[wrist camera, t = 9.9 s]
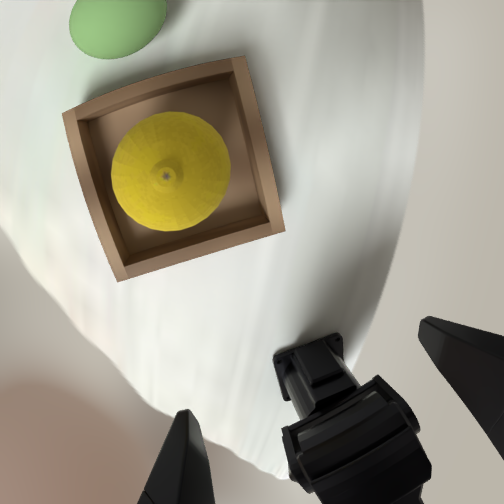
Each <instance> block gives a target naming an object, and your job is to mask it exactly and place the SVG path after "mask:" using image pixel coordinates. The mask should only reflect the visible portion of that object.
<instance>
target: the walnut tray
mask: <svg viewBox="0 0 504 504" xmlns="http://www.w3.org/2000/svg"><path fill="white" fill-rule="evenodd" d="M169 111H171V112H185V113H188V114H191V115H194V116H197V117H200V118H201V119H203V120H204V121H206V122H207V123H209V124H210V125H212V127H213V128H214V129H215V130H216V131H217V132H218V133H219V134H220V136H221V137H222V139H223V141H224V143H225V145H226V147H227V149H228V153H229V158H230V163H231V170H230V181H229V184H228V187H227V191H226V194H225V196H224V197H223V199H222V201H221V202H220V204H219V206H218V207H217V208H216V209H215V210H214V211H213V212H212V213H211V214H210V215H209V216H208V217H207V218H206V219H204V220H202V221H201V222H199V223H198V224H196V225H194V226H192V227H189V228H185V229H182V230H177V231H160V230H155V229H150V228H148V227H146V226H144V225H141V224H139V223H138V222H136V221H135V220H134V219H133V218H131V217H130V216H129V215H128V214H127V213H126V212H125V211H124V209H123V208H122V207H121V205H120V204H119V203H118V200H117V198H116V195H115V193H114V190H113V186H112V178H111V170H112V162H113V157H114V154H115V152H116V149H117V147H118V145H119V143H120V142H121V140H122V139H123V137H124V136H125V135H126V133H127V132H128V131H129V130H130V129H131V128H132V127H134V126H135V125H136V124H137V123H138V122H140V121H141V120H143V119H146V118H148V117H150V116H152V115H154V114H159V113H164V112H169ZM62 116H63V121H64V126H65V130H66V134H67V138H68V142H69V146H70V150H71V154H72V158H73V161H74V165H75V169H76V172H77V175H78V179H79V182H80V185H81V188H82V192H83V195H84V198H85V201H86V204H87V207H88V210H89V212H90V215H91V218H92V221H93V224H94V226H95V229H96V232H97V234H98V237H99V239H100V242H101V245H102V247H103V250H104V252H105V254H106V257H107V259H108V262H109V264H110V266H111V269H112V271H113V273H114V276H115V278H116V280H117V282H120V281H124V280H127V279H130V278H133V277H136V276H140V275H143V274H146V273H149V272H152V271H156V270H159V269H162V268H165V267H168V266H172V265H175V264H178V263H181V262H185V261H188V260H191V259H194V258H198V257H201V256H204V255H208V254H211V253H214V252H217V251H221V250H224V249H227V248H231V247H234V246H237V245H240V244H244V243H247V242H250V241H254V240H257V239H260V238H264V237H267V236H270V235H274V234H277V233H281V232H284V231H285V226H284V221H283V216H282V211H281V206H280V201H279V197H278V192H277V187H276V183H275V178H274V174H273V169H272V165H271V160H270V156H269V151H268V147H267V142H266V138H265V134H264V130H263V125H262V121H261V117H260V113H259V109H258V105H257V101H256V97H255V93H254V89H253V85H252V81H251V77H250V73H249V69H248V65H247V62H246V58H245V56H240V57H234V58H228V59H223V60H218V61H213V62H208V63H204V64H199V65H195V66H191V67H187V68H183V69H179V70H175V71H171V72H168V73H164V74H161V75H158V76H154V77H151V78H148V79H145V80H142V81H139V82H136V83H133V84H130V85H127V86H125V87H122V88H119V89H117V90H114V91H111V92H109V93H106V94H104V95H101V96H99V97H97V98H94V99H92V100H90V101H87V102H85V103H83V104H81V105H78V106H76V107H74V108H72V109H70V110H68V111H66V112H64V113H62Z"/></svg>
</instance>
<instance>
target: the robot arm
mask: <svg viewBox="0 0 504 504" xmlns="http://www.w3.org/2000/svg"><path fill="white" fill-rule="evenodd" d="M336 338H337V339H336ZM418 338H419V341H420V342H421V344H422V346H423V347H424V348H425V350H426V352H427V353H428V355H429V356H430V358H431V360H432V361H433V363H434V364H435V366H436V367H437V369H438V370H439V371H440V373H441V374H442V375H443V376H444V378H445V379H446V380H447V382H448V383H449V384H450V385H451V387H452V388H453V389H454V391H455V392H456V393H457V394H458V396H459V397H460V398H461V400H462V401H463V402H464V404H465V405H466V407H467V408H468V409H469V410H470V412H471V413H472V415H473V416H474V417H475V419H476V420H477V422H478V423H479V424H480V426H481V427H482V429H483V430H484V431H485V433H486V434H487V436H488V437H489V439H490V440H491V442H492V443H493V445H494V446H495V448H496V449H497V451H498V452H499V454H500V455H501V457H502V459H503V460H504V336H502V335H498V334H494V333H491V332H487V331H483V330H479V329H476V328H472V327H468V326H465V325H461V324H458V323H454V322H450V321H446V320H443V319H439V318H435V317H432V316H427V317H425V318H424V319H422V320H421V321H420V325H419V332H418ZM278 360H279V361H278ZM273 364H274V368H275V372H276V375H277V379H278V382H279V386H280V390H281V393H282V397H283V399H284V401H290V400H292V403H293V405H294V407H295V409H296V412H297V414H298V416H299V418H300V421H298V422H296V423H294V424H292V425H290V426H288V425H287V426H285V427H283V428H281V429H282V433H283V436H282V441H283V444H284V448H285V452H286V456H287V460H288V468H289V477H290V479H291V480H292V481H294V482H297V483H299V484H300V485H301V486H302V487H303V489H304V490H305V491H306V492H307V493H309V494H310V493H313V492H315V493H316V495H317V496H318V498H319V499H320V501H321V503H322V504H424V503H423V501H422V499H421V492H422V488H423V484H424V483H425V482H427V481H428V480H430V479H431V471H432V465H431V463H430V461H429V459H428V458H427V455H426V453H425V451H424V449H423V447H422V445H421V443H420V441H419V439H418V437H417V435H416V434H417V433H419V432H420V426H419V423H418V420H417V418H416V416H415V415H414V413H413V411H412V409H411V408H410V407H409V405H408V404H407V402H406V401H405V400H404V399H403V398H402V397H401V396H400V395H399V394H398V393H397V392H396V391H395V390H394V389H393V388H392V387H391V386H390V385H389V384H388V383H387V382H385V381H384V380H383V379H382V378H381V377H380V376H379V375H376V376H375V377H373V378H372V380H370V381H369V382H367V383H366V384H364V385H362V386H360V384H359V383H358V381H357V380H356V379H355V377H354V376H353V374H352V373H351V372H350V370H349V369H348V367H347V366H346V365H345V363H344V359H343V338H342V336H341V334H340V333H334V334H332V335H329V336H327V337H324V338H322V339H319V340H317V341H314V342H312V343H309V344H306V345H304V346H301V347H298V348H295V349H293V350H290V351H287V352H284V353H281V354H278V355H276V356H274V357H273ZM144 490H145V491H143V492H142V494H141V496H140V498H139V501H138V503H137V504H215V499H214V492H213V486H212V479H211V472H210V466H209V460H208V456H207V452H206V449H205V445H204V441H203V437H202V433H201V429H200V425H199V423H198V421H197V419H196V418H195V416H194V415H193V413H192V412H191V411H190V410H189V409H185V410H180V411H178V412H177V414H176V416H175V418H174V421H173V423H172V425H171V428H170V430H169V432H168V434H167V437H166V439H165V441H164V444H163V446H162V448H161V450H160V453H159V455H158V457H157V460H156V462H155V464H154V467H153V469H152V471H151V474H150V476H149V478H148V481H147V483H146V485H145V487H144Z"/></svg>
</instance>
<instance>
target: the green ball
mask: <svg viewBox="0 0 504 504" xmlns="http://www.w3.org/2000/svg"><path fill="white" fill-rule="evenodd" d="M166 10H167V3H166V0H77V1H76V3H75V5H74V7H73V9H72V12H71V15H70V20H69V30H70V34H71V37H72V40H73V42H74V43H75V45H76V46H77V47H78V48H79V49H80V50H81V51H82V52H84V53H85V54H87V55H89V56H92V57H95V58H99V59H117V58H122V57H125V56H128V55H131V54H133V53H135V52H137V51H139V50H140V49H142V48H143V47H145V46H146V45H147V44H148V43H149V42H150V41H152V39H153V38H154V37H155V36H156V35H157V34H158V32H159V31H160V29H161V27H162V25H163V23H164V20H165V17H166Z"/></svg>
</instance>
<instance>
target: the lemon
mask: <svg viewBox="0 0 504 504" xmlns="http://www.w3.org/2000/svg"><path fill="white" fill-rule="evenodd" d="M230 170H231V163H230V158H229V153H228V149H227V147H226V145H225V143H224V141H223V139H222V137H221V136H220V134H219V133H218V132H217V131H216V130H215V129H214V128H213V127H212V125H210V124H209V123H207V122H206V121H204V120H203V119H201V118H200V117H197V116H194V115H191V114H188V113H185V112H171V111H169V112H164V113H159V114H154V115H152V116H150V117H148V118H146V119H143V120H141V121H140V122H138V123H137V124H136V125H135V126H134V127H132V128H131V129H130V130H129V131H128V132H127V133H126V135H125V136H124V137H123V139H122V140H121V142H120V143H119V145H118V147H117V149H116V152H115V154H114V157H113V162H112V170H111V178H112V186H113V190H114V193H115V195H116V198H117V200H118V203H119V204H120V205H121V207H122V208H123V209H124V211H125V212H126V213H127V214H128V215H129V216H130V217H131V218H133V219H134V220H135V221H136V222H138V223H139V224H141V225H144V226H146V227H148V228H150V229H155V230H160V231H177V230H182V229H185V228H189V227H192V226H194V225H196V224H198V223H199V222H201V221H202V220H204V219H206V218H207V217H208V216H209V215H210V214H211V213H212V212H213V211H214V210H215V209H216V208H217V207H218V206H219V204H220V202H221V201H222V199H223V197H224V196H225V194H226V191H227V187H228V184H229V181H230Z"/></svg>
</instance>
